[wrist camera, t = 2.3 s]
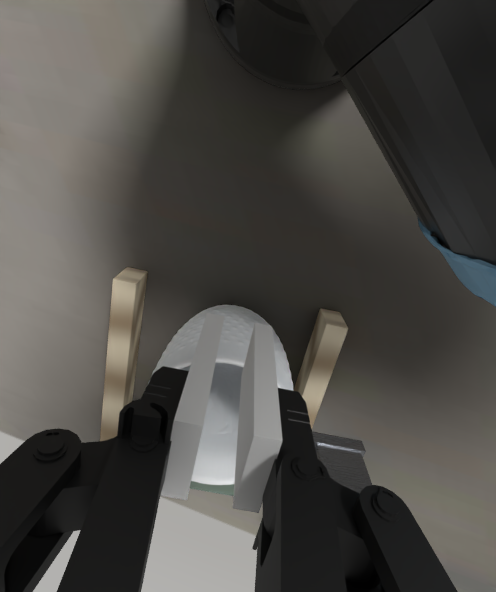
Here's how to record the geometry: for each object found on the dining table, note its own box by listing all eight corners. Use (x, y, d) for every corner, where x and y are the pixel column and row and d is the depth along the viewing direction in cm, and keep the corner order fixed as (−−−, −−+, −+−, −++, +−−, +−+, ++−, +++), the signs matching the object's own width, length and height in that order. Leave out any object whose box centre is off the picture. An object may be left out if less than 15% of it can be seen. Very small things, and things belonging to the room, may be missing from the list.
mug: (215, 419, 40) (198, 534, 28) (134, 365, 38) (76, 465, 26) (307, 330, 36) (333, 421, 24) (221, 262, 33) (201, 325, 21)
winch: (311, 431, 40) (323, 489, 34) (361, 441, 41) (383, 500, 34) (293, 481, 43) (300, 544, 36) (340, 490, 44) (356, 553, 37)
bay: (126, 266, 34) (106, 284, 29) (339, 312, 35) (352, 336, 30) (110, 435, 41) (92, 470, 37) (285, 467, 43) (289, 505, 38)
